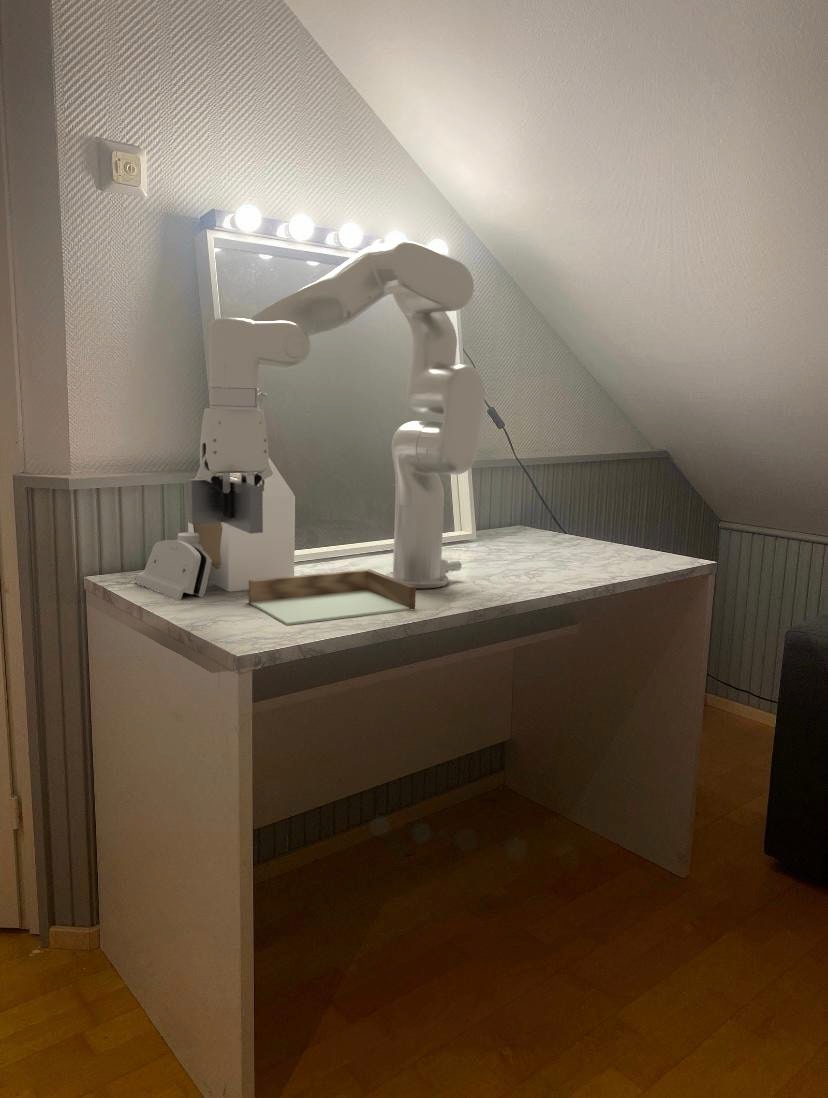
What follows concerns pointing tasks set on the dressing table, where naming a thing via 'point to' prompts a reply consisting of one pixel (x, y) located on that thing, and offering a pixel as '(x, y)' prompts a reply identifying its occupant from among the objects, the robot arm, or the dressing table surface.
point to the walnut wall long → (307, 585)
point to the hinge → (176, 569)
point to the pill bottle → (190, 538)
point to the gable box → (253, 540)
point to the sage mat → (328, 607)
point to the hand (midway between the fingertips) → (235, 515)
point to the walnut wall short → (391, 589)
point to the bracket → (244, 505)
